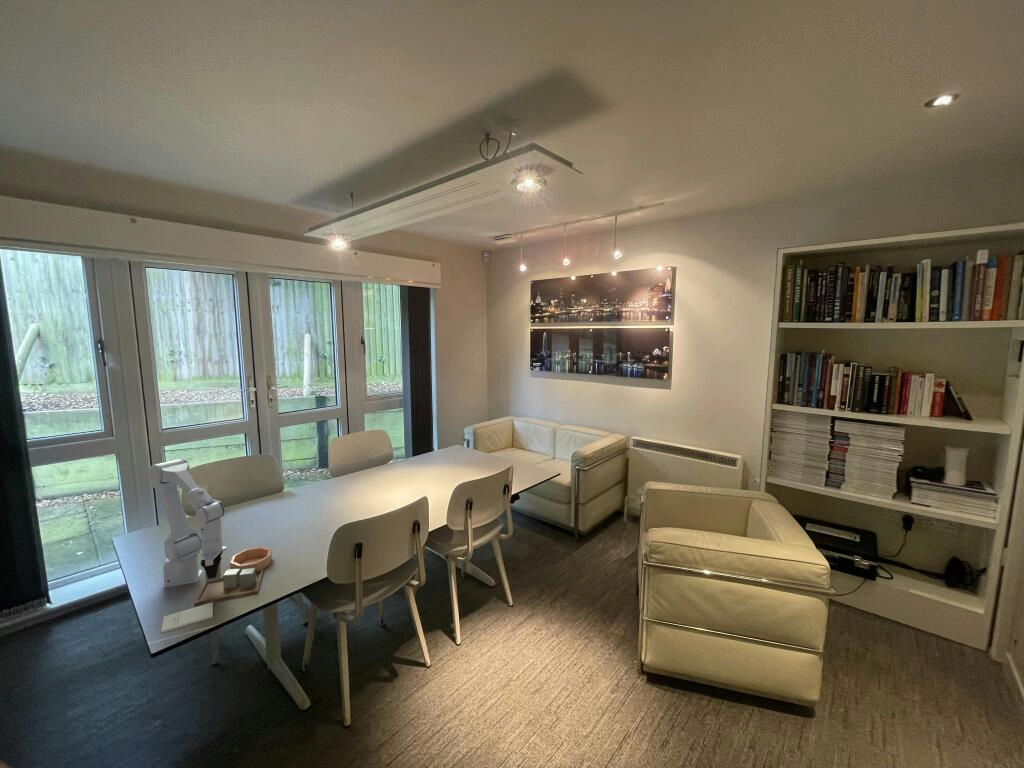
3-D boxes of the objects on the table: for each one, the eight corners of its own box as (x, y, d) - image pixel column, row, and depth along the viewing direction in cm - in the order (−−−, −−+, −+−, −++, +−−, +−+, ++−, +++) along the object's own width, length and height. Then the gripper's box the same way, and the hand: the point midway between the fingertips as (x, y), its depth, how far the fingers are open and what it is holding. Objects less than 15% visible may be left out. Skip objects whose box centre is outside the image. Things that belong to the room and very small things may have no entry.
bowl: (228, 578, 148) (227, 568, 148) (235, 560, 160) (235, 550, 159) (268, 571, 153) (268, 561, 153) (272, 554, 165) (272, 545, 165)
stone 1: (205, 582, 137) (205, 569, 137) (207, 577, 140) (206, 563, 140) (220, 579, 139) (219, 566, 139) (221, 574, 142) (220, 561, 142)
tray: (194, 606, 133) (193, 602, 132) (205, 583, 145) (205, 579, 145) (257, 594, 140) (257, 590, 140) (263, 572, 152) (263, 569, 152)
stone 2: (223, 588, 142) (222, 575, 141) (228, 582, 145) (227, 569, 144) (236, 587, 142) (235, 574, 142) (240, 581, 146) (240, 568, 145)
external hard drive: (212, 620, 127) (161, 636, 120) (213, 606, 134) (164, 620, 127) (212, 615, 127) (160, 631, 120) (212, 601, 134) (163, 615, 127)
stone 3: (240, 588, 142) (239, 574, 142) (243, 582, 145) (242, 569, 145) (253, 586, 143) (252, 573, 143) (255, 580, 147) (255, 567, 146)
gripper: (223, 544, 134) (224, 582, 136) (227, 526, 146) (229, 561, 148) (196, 549, 130) (198, 588, 132) (203, 530, 143) (205, 566, 144)
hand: (213, 574), depth 140 cm, fingers closed on stone 1, 3 cm apart
